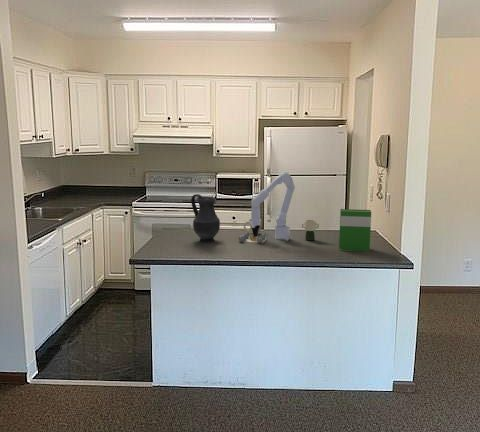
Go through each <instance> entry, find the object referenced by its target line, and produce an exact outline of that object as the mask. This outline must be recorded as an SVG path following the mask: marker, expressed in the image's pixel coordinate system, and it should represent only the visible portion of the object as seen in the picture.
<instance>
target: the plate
mask: <svg viewBox="0 0 480 432" xmlns="http://www.w3.org/2000/svg"><path fill="white" fill-rule="evenodd" d="M266 240H267V238H265V240H263V242H262V244H263V243H264V242H265V241H266ZM245 242H247V243H248V242H249V243H257V240H256V241H251V240H250V237H249V238H248V239H246V241H244V242H243V243H245Z"/></svg>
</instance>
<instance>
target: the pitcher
mask: <svg viewBox="0 0 480 432" xmlns="http://www.w3.org/2000/svg"><path fill="white" fill-rule="evenodd" d="M196 197H197V198H196ZM195 199H196V200H195ZM196 201H197V202H198V206H199V208H198V207H197V205H196ZM216 201H217V199H216V198H215V197H214V196H202V195H201V194H198V193H196V194H193V195H192V196H191V200H190V202H191V203H190V204H191V206H192V207H191V208H192V210H193V213H194V219H193V222H192V227H193V230H194V232H195V234H196V235H197V236H198V237H199V242H200V243H212V242H214V241H215V237H216V236H217V234H218V233H219V231H220V227H221V225H220V224H221V222H220V218H219V217H218V215H217V213H216V210H215V207H214V205H215V202H216ZM198 209H199V210H198Z"/></svg>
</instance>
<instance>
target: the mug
mask: <svg viewBox="0 0 480 432" xmlns="http://www.w3.org/2000/svg"><path fill="white" fill-rule="evenodd" d="M250 222H251V218H250V219H249V221H245V222H244V223H243V229H244V230H245V232H250V233H251V234H253V231H252V229H251V226H252V225H251V224H250ZM247 224H249V226H250V229H247V228H246V226H247ZM261 227H262V219H261V218H260V228H259V231H258V234H260V235H261Z"/></svg>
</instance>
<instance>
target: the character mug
mask: <svg viewBox="0 0 480 432" xmlns="http://www.w3.org/2000/svg"><path fill="white" fill-rule="evenodd" d="M319 226H320V223H318V222H317V220H316V219H306V220H304V222H302V223H301V228H302V229H305V231H306V232H305V236H304V239H305V240H306V241H314V240H315V237H316V235H315V231H316V230H317V229H319V228H320V227H319Z"/></svg>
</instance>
